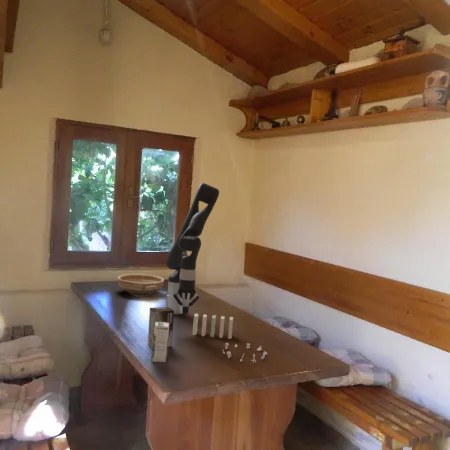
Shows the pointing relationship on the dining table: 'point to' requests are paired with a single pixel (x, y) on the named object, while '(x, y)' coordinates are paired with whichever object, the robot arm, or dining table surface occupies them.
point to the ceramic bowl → (140, 284)
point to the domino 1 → (195, 324)
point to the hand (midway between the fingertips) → (185, 314)
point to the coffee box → (160, 316)
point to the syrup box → (160, 342)
